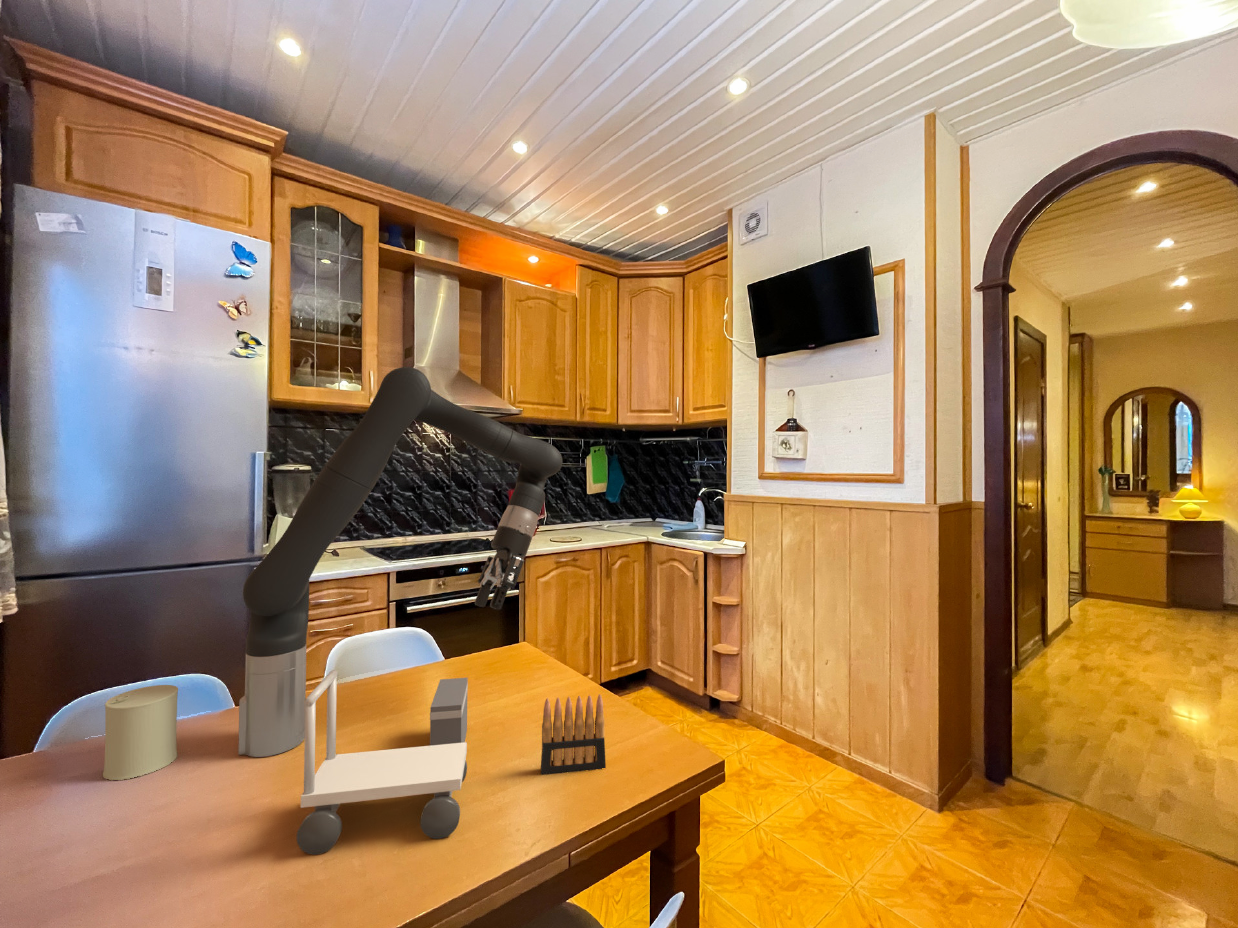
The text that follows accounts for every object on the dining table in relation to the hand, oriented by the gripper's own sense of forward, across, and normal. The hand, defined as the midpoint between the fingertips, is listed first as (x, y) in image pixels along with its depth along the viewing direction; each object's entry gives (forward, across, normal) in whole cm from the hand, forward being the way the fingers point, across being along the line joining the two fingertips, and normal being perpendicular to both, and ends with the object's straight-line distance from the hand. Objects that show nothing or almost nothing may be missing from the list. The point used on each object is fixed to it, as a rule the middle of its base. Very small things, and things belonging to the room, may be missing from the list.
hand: (486, 607), depth 104 cm
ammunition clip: (+21, +20, +17) cm, 34 cm away
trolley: (+32, +16, -8) cm, 37 cm away
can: (+41, -21, -39) cm, 60 cm away
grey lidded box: (+25, +2, +2) cm, 25 cm away
